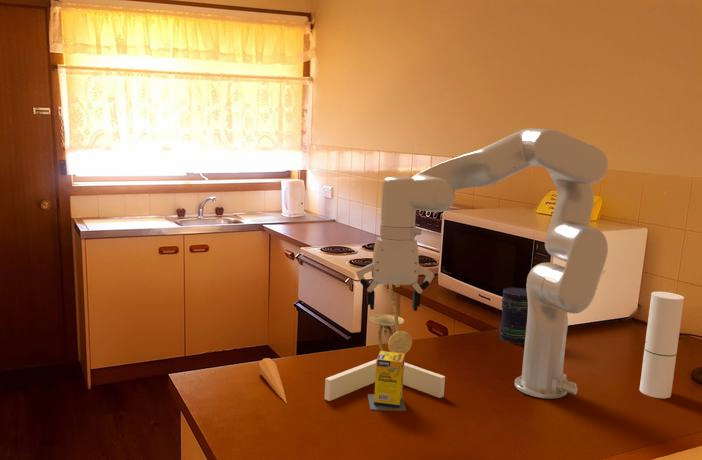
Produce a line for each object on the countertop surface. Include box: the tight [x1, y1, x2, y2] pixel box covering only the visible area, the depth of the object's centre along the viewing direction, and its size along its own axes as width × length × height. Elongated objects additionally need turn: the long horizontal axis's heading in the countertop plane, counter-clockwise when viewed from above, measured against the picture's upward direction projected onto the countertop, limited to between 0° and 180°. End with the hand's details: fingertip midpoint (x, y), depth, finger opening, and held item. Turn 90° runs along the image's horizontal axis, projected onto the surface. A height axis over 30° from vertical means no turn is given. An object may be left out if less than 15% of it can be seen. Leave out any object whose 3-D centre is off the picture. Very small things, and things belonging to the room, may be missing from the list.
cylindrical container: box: [639, 291, 685, 399], centre depth 158 cm, size 7×7×25 cm
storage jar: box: [498, 287, 528, 345], centre depth 196 cm, size 10×10×15 cm
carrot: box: [258, 357, 288, 405], centre depth 153 cm, size 20×4×4 cm, turn 22°
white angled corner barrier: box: [324, 358, 446, 402], centre depth 149 cm, size 18×22×5 cm
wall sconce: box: [369, 285, 413, 355], centre depth 172 cm, size 14×10×25 cm
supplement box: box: [374, 350, 406, 408], centre depth 146 cm, size 6×6×11 cm
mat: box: [367, 393, 407, 412], centre depth 147 cm, size 8×8×1 cm
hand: (393, 308), depth 144 cm, fingers open, 9 cm apart
